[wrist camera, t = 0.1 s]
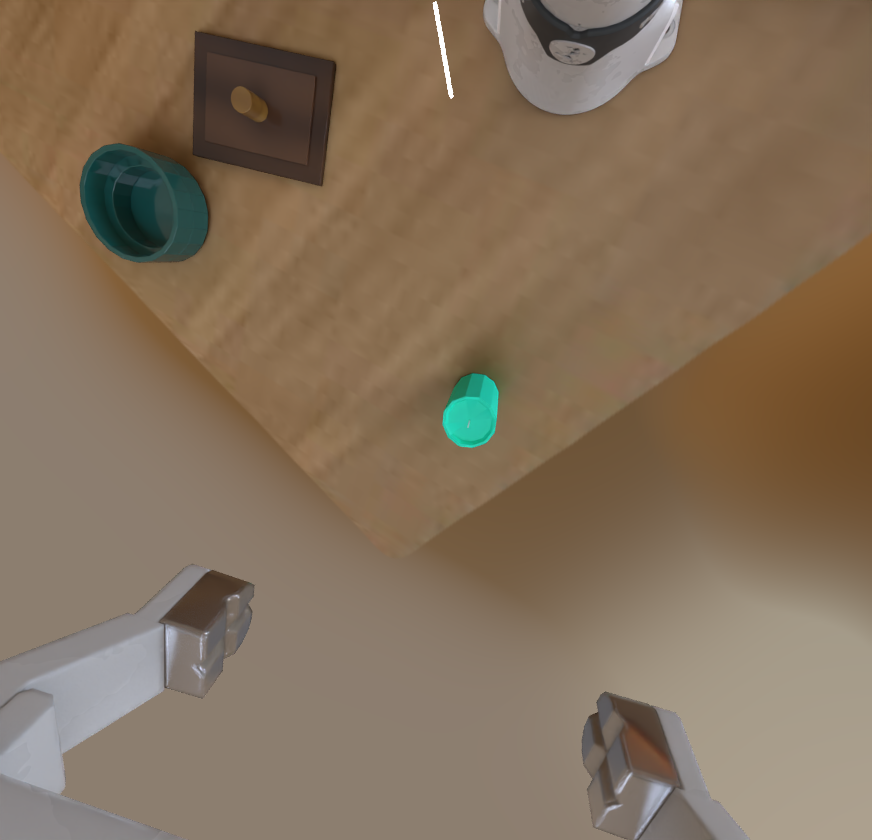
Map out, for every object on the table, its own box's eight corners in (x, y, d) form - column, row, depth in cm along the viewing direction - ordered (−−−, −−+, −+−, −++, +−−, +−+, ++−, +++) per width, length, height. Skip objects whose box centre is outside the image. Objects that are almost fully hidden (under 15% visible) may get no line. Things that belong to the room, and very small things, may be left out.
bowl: (120, 146, 54) (75, 132, 48) (212, 168, 53) (178, 157, 47) (124, 249, 58) (83, 248, 53) (209, 271, 57) (177, 273, 52)
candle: (488, 423, 59) (483, 461, 47) (446, 406, 59) (431, 440, 47) (506, 383, 56) (505, 413, 45) (462, 366, 56) (451, 391, 45)
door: (199, 34, 48) (171, 13, 44) (336, 64, 47) (320, 45, 43) (197, 156, 53) (170, 147, 49) (322, 186, 52) (306, 179, 48)
